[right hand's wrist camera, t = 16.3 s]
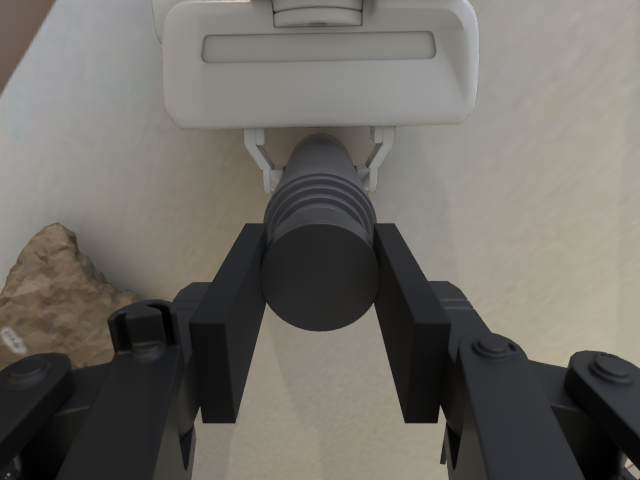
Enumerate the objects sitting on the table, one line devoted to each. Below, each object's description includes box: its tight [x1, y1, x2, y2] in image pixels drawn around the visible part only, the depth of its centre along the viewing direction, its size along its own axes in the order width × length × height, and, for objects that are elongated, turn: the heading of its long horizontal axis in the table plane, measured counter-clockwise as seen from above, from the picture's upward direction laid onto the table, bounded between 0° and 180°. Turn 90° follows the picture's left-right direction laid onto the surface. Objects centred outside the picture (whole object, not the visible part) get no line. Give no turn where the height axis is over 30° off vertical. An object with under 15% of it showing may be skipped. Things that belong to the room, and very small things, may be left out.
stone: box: [0, 222, 143, 371], centre depth 37 cm, size 21×15×6 cm
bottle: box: [264, 134, 377, 245], centre depth 23 cm, size 5×5×22 cm
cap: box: [260, 208, 380, 331], centre depth 13 cm, size 4×4×2 cm
